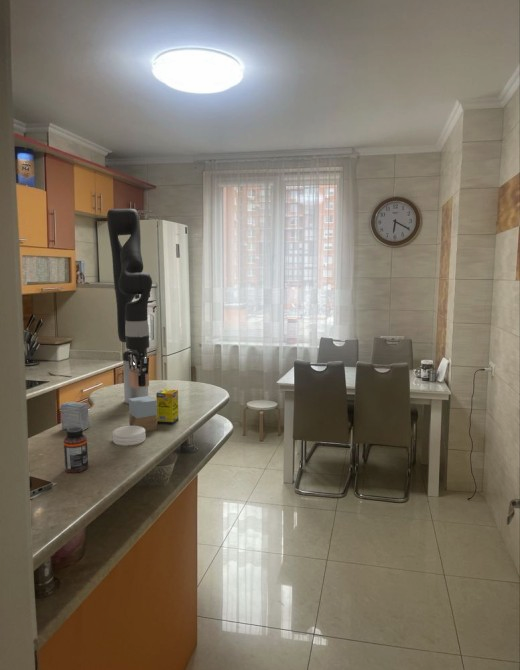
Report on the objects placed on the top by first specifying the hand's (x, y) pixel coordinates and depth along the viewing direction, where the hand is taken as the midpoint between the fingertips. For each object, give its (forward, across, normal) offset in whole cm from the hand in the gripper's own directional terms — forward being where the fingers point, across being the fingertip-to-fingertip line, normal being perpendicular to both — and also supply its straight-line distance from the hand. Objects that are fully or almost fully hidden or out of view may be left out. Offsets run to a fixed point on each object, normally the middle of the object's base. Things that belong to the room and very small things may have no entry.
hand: (139, 384), depth 176 cm
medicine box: (+15, -11, -19) cm, 27 cm away
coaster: (+15, +9, -7) cm, 19 cm away
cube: (0, 0, 0) cm, 0 cm away
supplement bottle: (+15, +24, -27) cm, 39 cm away
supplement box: (+15, -2, +11) cm, 19 cm away
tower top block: (+10, 0, +1) cm, 10 cm away
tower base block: (+15, 0, +1) cm, 15 cm away
